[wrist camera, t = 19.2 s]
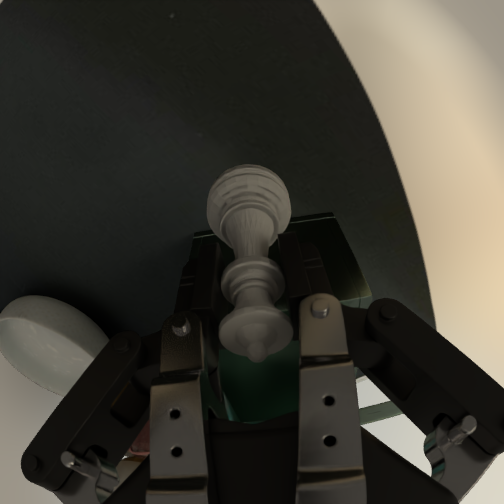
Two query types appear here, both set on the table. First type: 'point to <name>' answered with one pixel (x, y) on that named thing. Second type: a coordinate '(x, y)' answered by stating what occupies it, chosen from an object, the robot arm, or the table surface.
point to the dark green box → (287, 360)
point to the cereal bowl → (49, 341)
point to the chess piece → (251, 258)
